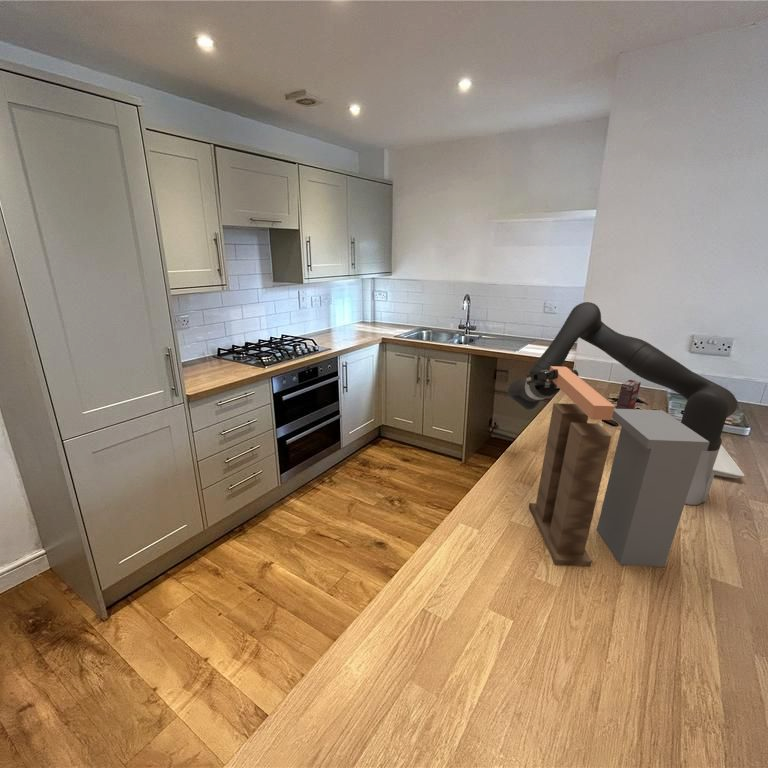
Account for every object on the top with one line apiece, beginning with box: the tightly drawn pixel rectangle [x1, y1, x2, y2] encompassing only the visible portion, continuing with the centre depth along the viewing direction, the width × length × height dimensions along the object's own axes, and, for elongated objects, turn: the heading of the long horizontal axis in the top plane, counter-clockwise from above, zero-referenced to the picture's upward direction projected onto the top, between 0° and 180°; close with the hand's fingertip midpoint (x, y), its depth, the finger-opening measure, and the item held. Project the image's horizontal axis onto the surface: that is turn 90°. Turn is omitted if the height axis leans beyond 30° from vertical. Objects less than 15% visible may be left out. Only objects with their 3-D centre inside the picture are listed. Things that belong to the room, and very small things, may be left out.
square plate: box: [712, 444, 745, 479], centre depth 143 cm, size 27×27×4 cm
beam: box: [550, 366, 616, 421], centre depth 95 cm, size 26×4×3 cm, turn 177°
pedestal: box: [596, 408, 710, 568], centre depth 96 cm, size 12×16×32 cm
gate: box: [528, 402, 612, 568], centre depth 98 cm, size 8×21×32 cm, turn 178°
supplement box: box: [615, 379, 641, 409], centre depth 169 cm, size 9×5×16 cm, turn 132°
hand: (566, 373), depth 101 cm, fingers closed on beam, 4 cm apart
